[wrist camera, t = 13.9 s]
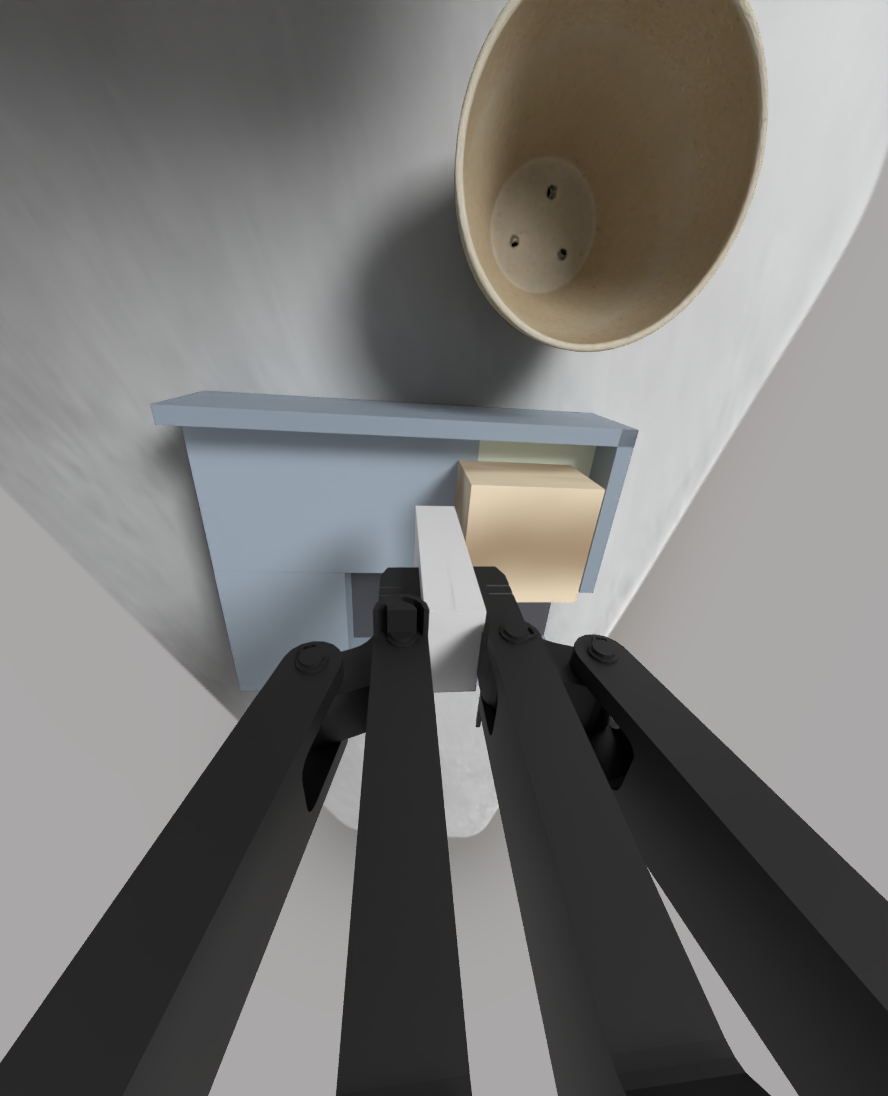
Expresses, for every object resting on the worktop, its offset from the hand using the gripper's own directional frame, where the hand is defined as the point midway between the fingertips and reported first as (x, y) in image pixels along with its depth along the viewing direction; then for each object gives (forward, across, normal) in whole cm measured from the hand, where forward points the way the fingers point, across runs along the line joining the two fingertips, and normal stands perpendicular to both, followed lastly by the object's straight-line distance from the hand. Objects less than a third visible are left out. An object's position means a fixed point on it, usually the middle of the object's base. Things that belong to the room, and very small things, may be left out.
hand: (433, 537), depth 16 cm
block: (+6, +5, -2) cm, 8 cm away
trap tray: (+9, -1, -5) cm, 10 cm away
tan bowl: (+9, +5, +12) cm, 16 cm away
